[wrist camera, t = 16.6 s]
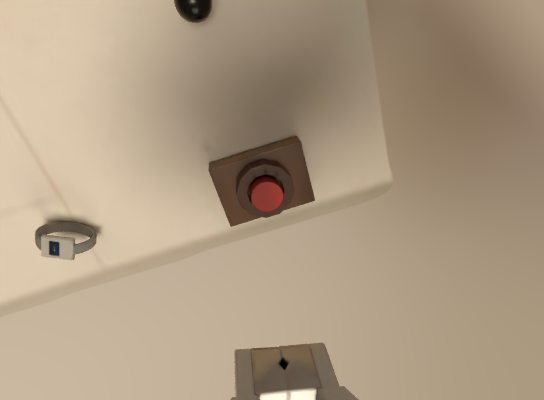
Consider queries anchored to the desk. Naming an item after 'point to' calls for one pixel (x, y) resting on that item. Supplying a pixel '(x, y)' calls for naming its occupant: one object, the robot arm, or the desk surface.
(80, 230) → the wristwatch
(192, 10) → the ball knob lever
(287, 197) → the panel
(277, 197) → the button
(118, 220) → the desk surface
